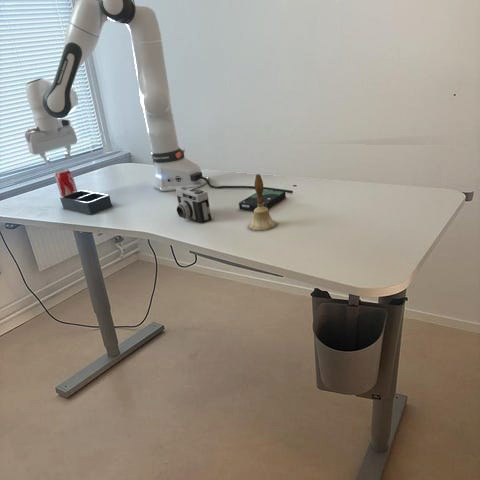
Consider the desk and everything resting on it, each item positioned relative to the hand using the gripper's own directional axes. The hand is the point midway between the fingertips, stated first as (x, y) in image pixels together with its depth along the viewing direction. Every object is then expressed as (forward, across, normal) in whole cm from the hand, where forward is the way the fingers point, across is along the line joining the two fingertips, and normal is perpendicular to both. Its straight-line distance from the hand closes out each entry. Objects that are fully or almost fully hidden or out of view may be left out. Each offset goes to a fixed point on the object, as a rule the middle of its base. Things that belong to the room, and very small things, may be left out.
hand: (58, 160), depth 200 cm
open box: (+16, -4, -19) cm, 25 cm away
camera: (+16, +3, -71) cm, 73 cm away
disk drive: (+15, +24, -86) cm, 91 cm away
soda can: (+16, 0, 0) cm, 16 cm away
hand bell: (+15, +8, -99) cm, 100 cm away
